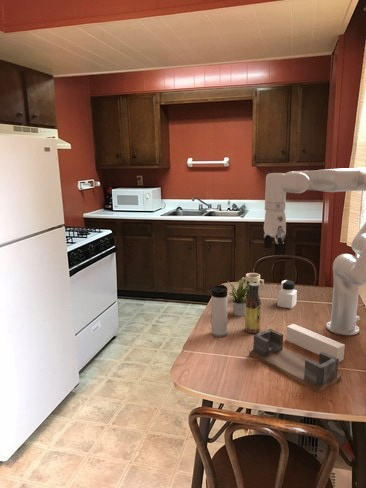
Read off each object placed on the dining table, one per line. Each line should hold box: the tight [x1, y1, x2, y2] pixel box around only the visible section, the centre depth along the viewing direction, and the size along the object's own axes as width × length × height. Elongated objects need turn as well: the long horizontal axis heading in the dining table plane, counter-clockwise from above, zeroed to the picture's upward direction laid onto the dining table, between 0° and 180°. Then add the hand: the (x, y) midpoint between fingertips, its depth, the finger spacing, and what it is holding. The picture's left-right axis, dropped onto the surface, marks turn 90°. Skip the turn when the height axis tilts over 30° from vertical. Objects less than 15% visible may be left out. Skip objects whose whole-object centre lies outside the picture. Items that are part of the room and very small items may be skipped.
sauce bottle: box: [244, 283, 262, 334], centre depth 160 cm, size 7×6×20 cm
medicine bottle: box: [277, 279, 298, 310], centre depth 187 cm, size 7×7×12 cm
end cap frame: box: [248, 328, 342, 394], centre depth 134 cm, size 12×29×8 cm, turn 37°
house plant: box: [227, 279, 253, 317], centre depth 176 cm, size 14×14×16 cm
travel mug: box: [210, 284, 229, 338], centre depth 157 cm, size 6×7×20 cm
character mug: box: [241, 272, 265, 298], centre depth 194 cm, size 11×7×13 cm, turn 68°
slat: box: [285, 323, 346, 363], centre depth 146 cm, size 22×4×6 cm, turn 37°
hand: (273, 250), depth 152 cm, fingers open, 9 cm apart
